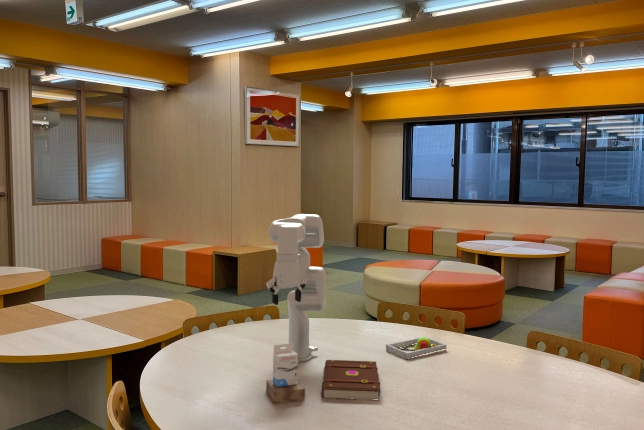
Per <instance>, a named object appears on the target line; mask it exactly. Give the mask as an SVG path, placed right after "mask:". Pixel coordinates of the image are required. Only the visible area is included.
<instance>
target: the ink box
mask: <svg viewBox="0 0 644 430" xmlns="http://www.w3.org/2000/svg"><path fill="white" fill-rule="evenodd" d="M272 357H273V358H272V380H273V384H275V385H276V386H277V387H281V386H288V385H294V384H297V383H298V380H299V378H298V377H299V375H298V371H299V370H298V369H299V362H298V354H297V353H296V352H294V351H293V343H291V344H289V343H283V344H274V346H273V354H272Z"/></svg>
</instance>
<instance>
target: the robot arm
mask: <svg viewBox="0 0 644 430" xmlns="http://www.w3.org/2000/svg"><path fill="white" fill-rule="evenodd" d="M324 232H325V231H324V223H323V220H322V218H321V216H320V215H319V214H313V213H312V214H309V213H306V214H305V213H297V214H294V215H292V216H291V217H287V218H286V217H285V218H282V219H276V220H273V221H272V222H271V223H270V225H269V227H268V237H269V239H270V240H271V242H274V243H277V260H276V261H274V262H275V263H274V265H273V273H272V278H270V279H269V280H268V281H266V283H265V285H266V287H267V290H269V292H270V293H271V294H272V295H271V301H272V304H273V305H275V306H278V305H279V294H278V293H279V292H280V290H285V289H286V290H287V289H293V288H295V289H293V290H291V291H289V292H288V294H287V297H286V298H287V299H286V300H287V310H288V344H291V343H293V351H294V352H296V353H297V354H298V363H299V362H300V363H301V362H308V361H310V360H311V359H312V358H313V354H312V353H313V352H318V351H319V347H318V346H314V347H313V346H310V318H309V316H308V314H307V313H306V312H318V313H319V312H323V311H324V310H325V307H326V297H327V296H326V295H327V294H326V291H327V288H326V287H327V286H326V285H327V283H326V282H327V276H326V275H327V274H326V270H325V269H324V268H323V267H321V266H311V255H310V252H309V251H308V249H307V248H310V249H313V248H314V249H317V248H318V249H319V248H321V247H323V245H324V242H325V233H324ZM304 288H314V289H315V290H313V289H311V290H310V289H307V290H306V289H304Z"/></svg>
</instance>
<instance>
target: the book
mask: <svg viewBox="0 0 644 430" xmlns="http://www.w3.org/2000/svg"><path fill="white" fill-rule="evenodd" d="M378 369H379V368H378V365H377V361H371V360H369V361H368V360H345V359H343V360H342V359H341V360H340V359H326V360H325V362H324V368H323V380H322V385H321V388H322V389H321V397H322V399H332V398H336V399H335V400H337V399H340V400H350V399H349V398H353V399H352V400H357V399H379V397H380V396H379V397H378V393H379V394H380V393H381V382H380V379H379V372H378V371H379V370H378ZM346 398H348V399H346Z"/></svg>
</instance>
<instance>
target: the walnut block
mask: <svg viewBox="0 0 644 430" xmlns="http://www.w3.org/2000/svg"><path fill="white" fill-rule="evenodd" d="M265 387H266V388H265V390H266V393H267V395H268V397H269V399H270V401H271V402H272V404H273V405H279V404H287V403H295V402H301V401H306V388H305V386H304V385H303V384H302V383H301V381H300V380H299V379H298V383H297V384H294V385H288V386H281V387H277V386H276V385H275V384H273V379H266V383H265Z"/></svg>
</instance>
